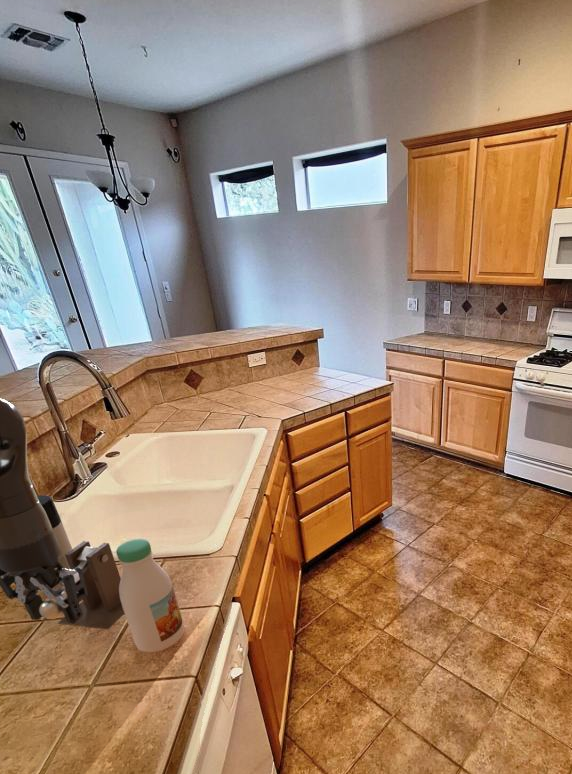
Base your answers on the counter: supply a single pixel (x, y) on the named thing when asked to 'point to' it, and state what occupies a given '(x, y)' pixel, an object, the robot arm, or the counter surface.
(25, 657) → the counter surface
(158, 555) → the counter surface
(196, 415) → the counter surface
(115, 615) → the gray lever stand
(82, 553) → the tap lever
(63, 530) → the spray can
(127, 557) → the milk bottle
